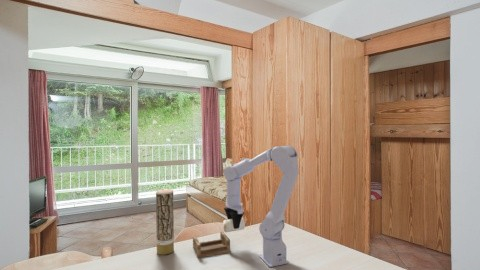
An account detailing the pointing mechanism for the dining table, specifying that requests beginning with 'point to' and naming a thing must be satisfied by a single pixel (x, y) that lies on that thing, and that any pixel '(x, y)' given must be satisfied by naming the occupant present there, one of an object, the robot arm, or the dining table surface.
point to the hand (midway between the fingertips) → (233, 226)
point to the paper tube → (164, 221)
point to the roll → (229, 225)
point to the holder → (211, 246)
